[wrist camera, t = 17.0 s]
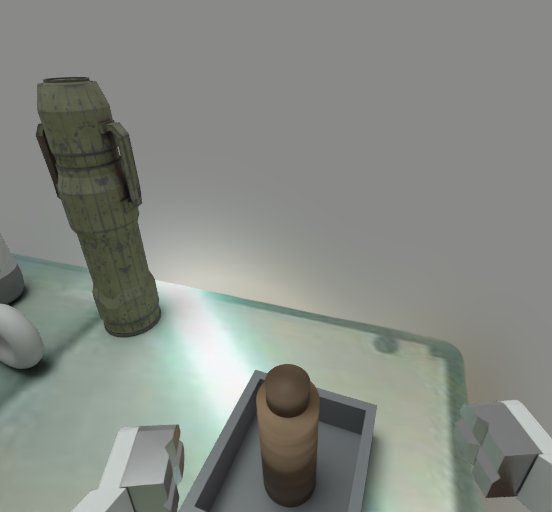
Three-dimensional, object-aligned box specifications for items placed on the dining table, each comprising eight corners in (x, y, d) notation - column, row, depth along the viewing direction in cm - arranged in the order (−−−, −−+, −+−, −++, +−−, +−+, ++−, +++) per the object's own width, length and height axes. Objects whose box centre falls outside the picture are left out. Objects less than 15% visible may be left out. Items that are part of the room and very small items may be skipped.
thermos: (111, 300, 62) (42, 76, 44) (177, 303, 61) (133, 75, 43) (83, 335, 54) (-14, 82, 37) (157, 339, 53) (94, 81, 36)
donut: (60, 364, 49) (34, 308, 44) (37, 383, 47) (6, 325, 42) (12, 345, 53) (-17, 290, 48) (-12, 361, 50) (-45, 305, 45)
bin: (342, 618, 27) (348, 594, 25) (185, 542, 31) (176, 514, 29) (371, 434, 40) (377, 405, 37) (257, 397, 44) (255, 369, 42)
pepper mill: (307, 516, 32) (309, 419, 25) (255, 495, 34) (243, 398, 27) (321, 462, 36) (327, 366, 29) (274, 445, 38) (269, 350, 31)
